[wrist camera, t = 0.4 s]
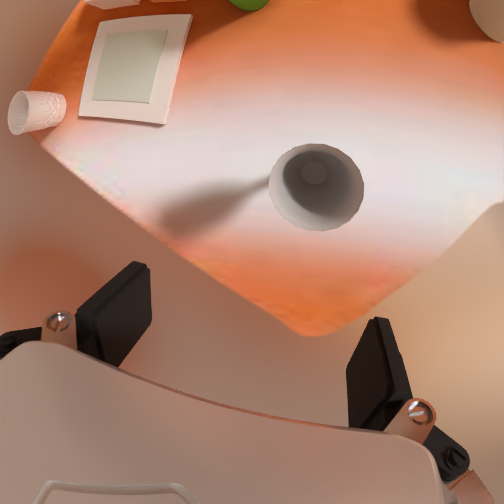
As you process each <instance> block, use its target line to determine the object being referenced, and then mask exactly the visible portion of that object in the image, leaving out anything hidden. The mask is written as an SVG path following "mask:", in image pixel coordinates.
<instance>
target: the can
mask: <svg viewBox="0 0 504 504" xmlns="http://www.w3.org/2000/svg"><path fill="white" fill-rule="evenodd" d="M469 8H470V12H471V14H472V17H473V18H474V20H475V22H476V23H477V25H478V26H479V27H480V29H481V30H482V31H483V32H484V33H485V34H486V35H487V36H489V37H490V38H491V39H493V40H495V41H497V42H500V43H504V0H470V1H469Z"/></svg>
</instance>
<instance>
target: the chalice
mask: <svg viewBox="0 0 504 504" xmlns="http://www.w3.org/2000/svg"><path fill="white" fill-rule="evenodd" d="M269 195H270V197H271V200H272V202H273V205H274V207H275V209H276V210H277V211H278V212H279V213H280V214H281V216H282V217H283V218H284V219H285V220H287V221H288V222H290V223H291V224H293V225H294V226H296V227H300V228H303V229H306V230H309V231H327V230H331V229H335V228H338V227H340V226H341V225H343V224H345V223H347V222H348V221H350V219H351V218H352V217H353V216H354V215H355V214H356V213H357V211H358V210H359V207H360V205H361V203H362V200H363V195H364V183H363V179H362V176H361V173H360V170H359V169H358V167H357V166H356V165H355V163H354V162H353V161H352V159H351V158H350V157H349V156H347V155H346V154H344V153H343V152H342V151H340V150H339V149H337V148H334V147H331V146H328V145H325V144H305V145H301V146H298V147H294V148H292V149H291V150H289V151H288V152H286V153H285V154H283V155H282V156H281V157H280V158H279V160H278V161H277V162H276V163H275V165H274V166H273V168H272V171H271V174H270V178H269Z"/></svg>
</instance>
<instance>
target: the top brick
mask: <svg viewBox="0 0 504 504" xmlns="http://www.w3.org/2000/svg"><path fill="white" fill-rule="evenodd" d="M150 1H152V2H154V3H158V2H174V1H187V0H150Z"/></svg>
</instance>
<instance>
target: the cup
mask: <svg viewBox="0 0 504 504" xmlns="http://www.w3.org/2000/svg"><path fill="white" fill-rule="evenodd" d="M228 1H230V2H231V3H232V4H234V5H235V6H236V7H238V8H239V9H242V10H245V11H255V10H258V9H261V8H262V7H264V6H265V5H266V4H267V3H268V1H269V0H228Z"/></svg>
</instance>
